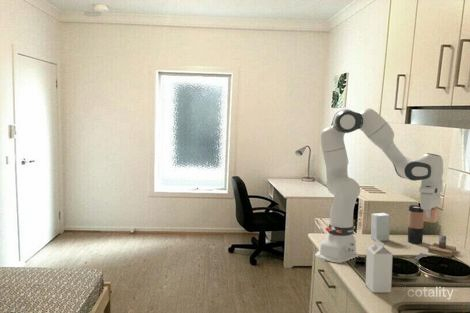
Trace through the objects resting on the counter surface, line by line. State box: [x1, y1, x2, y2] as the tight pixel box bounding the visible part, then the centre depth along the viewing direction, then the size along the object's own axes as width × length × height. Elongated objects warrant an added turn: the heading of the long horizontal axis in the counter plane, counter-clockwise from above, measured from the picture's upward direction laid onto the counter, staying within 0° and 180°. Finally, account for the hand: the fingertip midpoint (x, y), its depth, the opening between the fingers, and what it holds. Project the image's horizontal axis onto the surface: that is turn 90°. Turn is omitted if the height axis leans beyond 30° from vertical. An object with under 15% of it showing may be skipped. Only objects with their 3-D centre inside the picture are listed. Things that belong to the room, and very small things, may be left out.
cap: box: [423, 207, 439, 224], centre depth 172 cm, size 5×5×6 cm
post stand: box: [427, 234, 457, 258], centre depth 185 cm, size 12×10×8 cm
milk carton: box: [365, 239, 393, 294], centre depth 140 cm, size 7×7×19 cm
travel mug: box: [407, 204, 425, 245], centre depth 199 cm, size 8×8×20 cm
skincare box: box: [370, 212, 391, 242], centre depth 204 cm, size 8×6×15 cm
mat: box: [413, 252, 433, 261], centre depth 174 cm, size 11×10×1 cm
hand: (430, 216), depth 172 cm, fingers closed on cap, 5 cm apart
